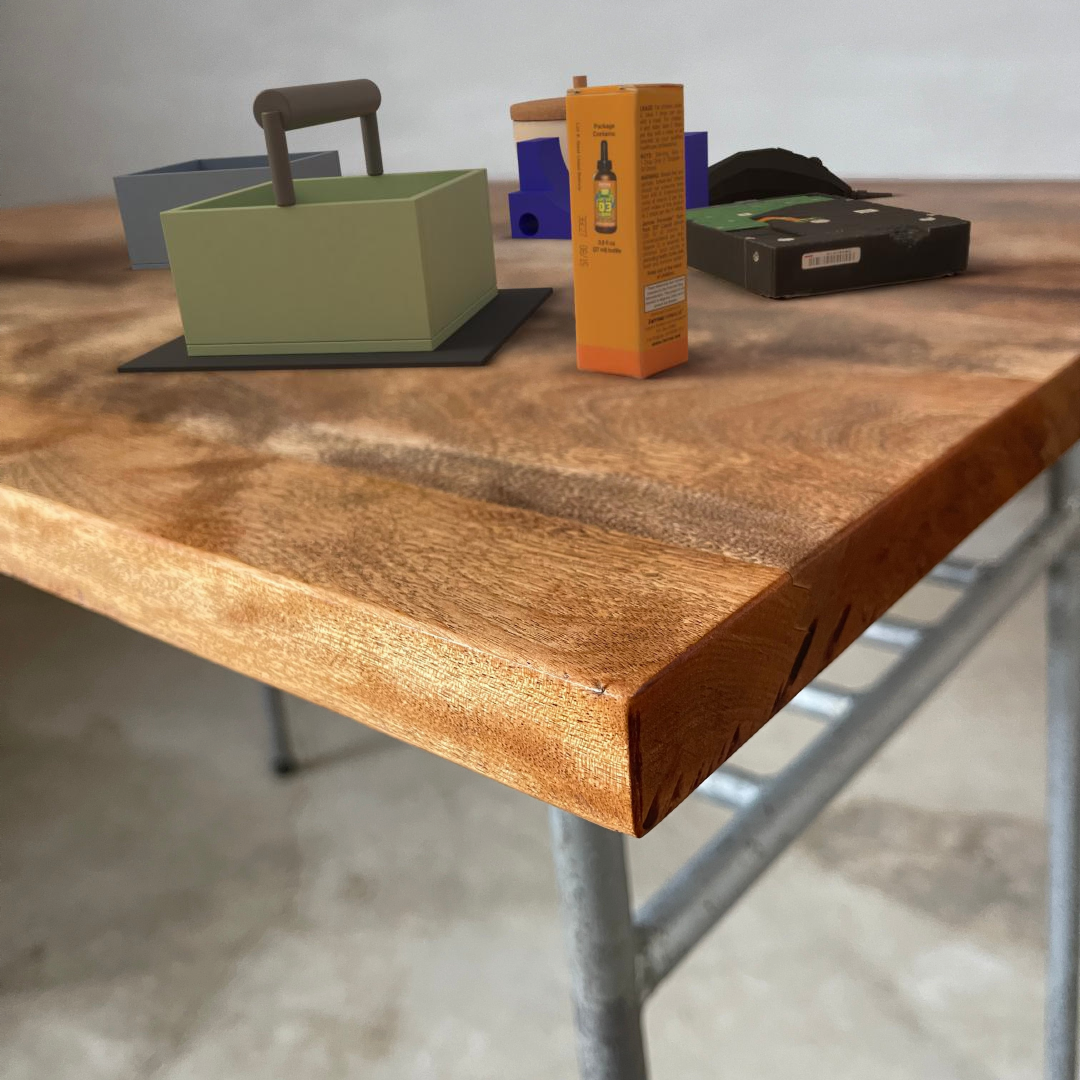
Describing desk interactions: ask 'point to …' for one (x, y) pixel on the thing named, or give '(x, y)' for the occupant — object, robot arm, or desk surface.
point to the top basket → (331, 247)
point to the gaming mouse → (774, 177)
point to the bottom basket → (196, 193)
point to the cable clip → (548, 186)
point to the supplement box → (628, 227)
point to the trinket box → (543, 119)
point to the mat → (459, 350)
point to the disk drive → (822, 244)
